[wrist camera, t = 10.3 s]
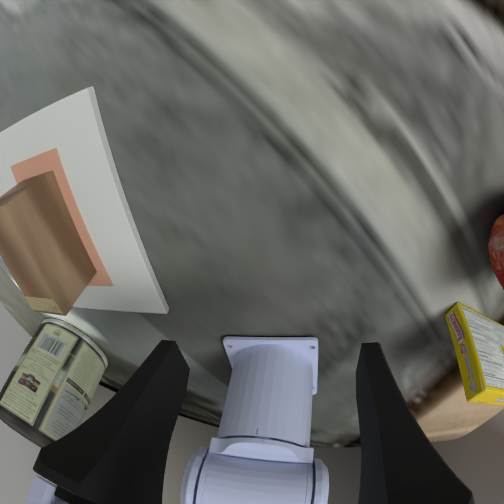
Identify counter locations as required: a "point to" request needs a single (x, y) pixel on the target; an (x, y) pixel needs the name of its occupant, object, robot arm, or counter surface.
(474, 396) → the candy box
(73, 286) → the walnut block
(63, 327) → the coffee can
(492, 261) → the pomegranate
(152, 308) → the mat
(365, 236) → the counter surface
